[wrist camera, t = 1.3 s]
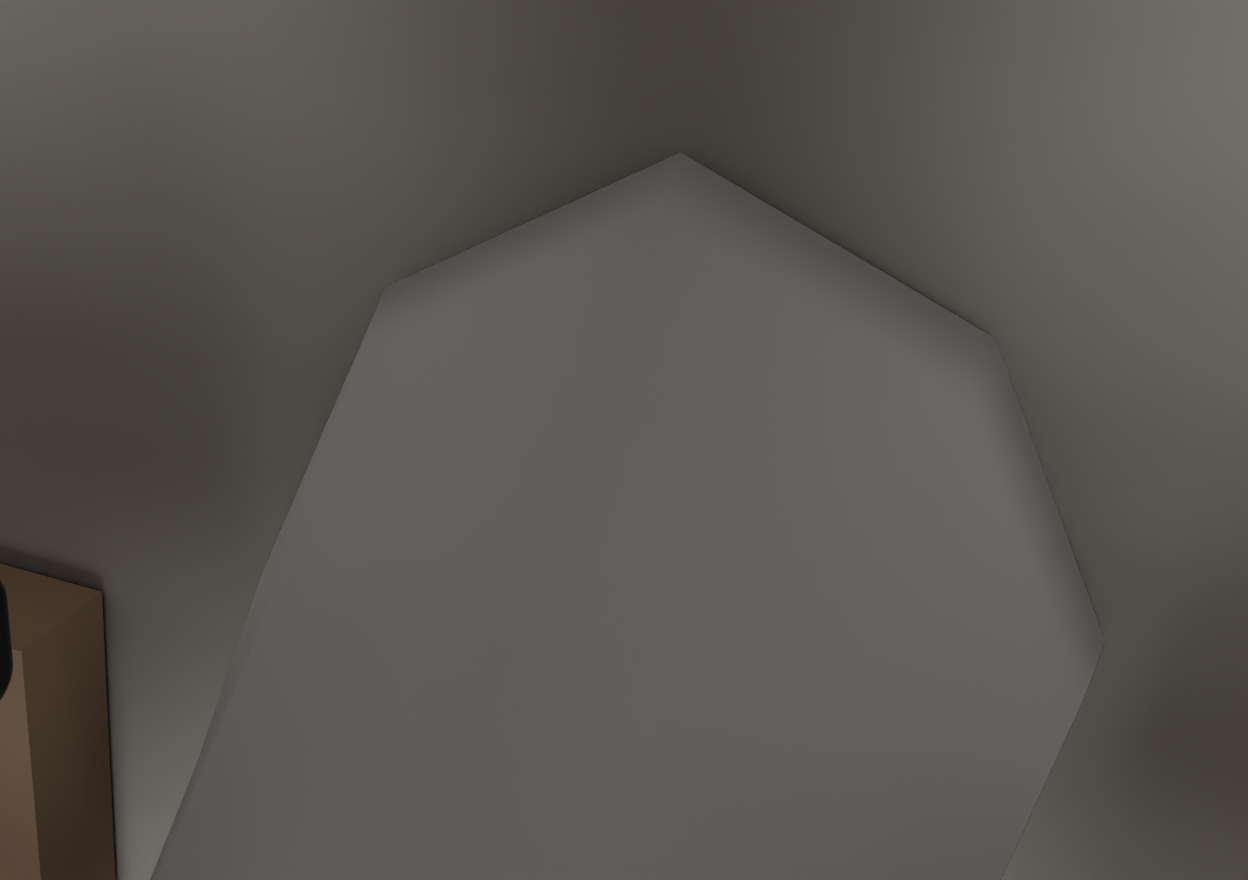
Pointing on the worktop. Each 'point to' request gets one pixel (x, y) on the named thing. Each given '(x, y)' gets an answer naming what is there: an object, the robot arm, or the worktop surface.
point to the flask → (652, 576)
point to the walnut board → (55, 735)
